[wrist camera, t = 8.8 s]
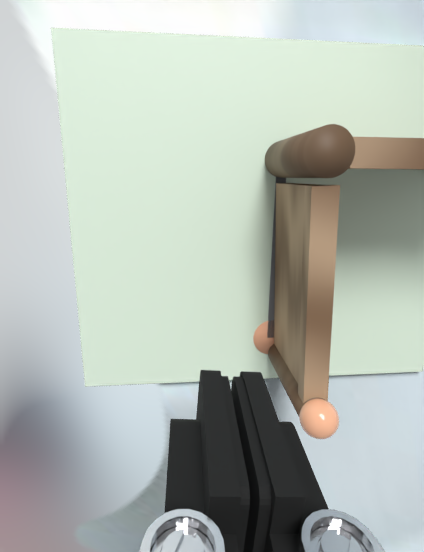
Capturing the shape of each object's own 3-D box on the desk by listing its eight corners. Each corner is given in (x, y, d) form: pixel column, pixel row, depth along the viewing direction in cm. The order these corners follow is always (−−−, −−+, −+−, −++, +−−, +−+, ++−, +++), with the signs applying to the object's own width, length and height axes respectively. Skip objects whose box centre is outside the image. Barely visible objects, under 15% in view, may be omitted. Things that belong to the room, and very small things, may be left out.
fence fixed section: (453, 144, 21) (574, 130, 15) (447, 179, 22) (561, 180, 15) (265, 140, 20) (307, 123, 14) (263, 177, 21) (303, 177, 14)
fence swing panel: (267, 183, 20) (317, 187, 13) (298, 182, 21) (364, 185, 13) (266, 366, 24) (306, 450, 16) (293, 364, 24) (344, 446, 17)
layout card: (476, 51, 20) (483, 48, 20) (419, 368, 26) (423, 371, 25) (53, 30, 18) (50, 27, 18) (86, 383, 23) (84, 387, 23)
